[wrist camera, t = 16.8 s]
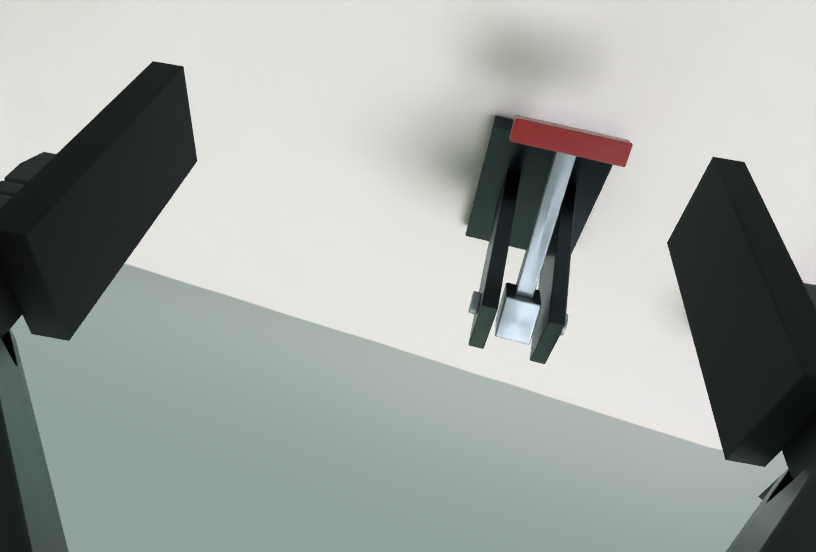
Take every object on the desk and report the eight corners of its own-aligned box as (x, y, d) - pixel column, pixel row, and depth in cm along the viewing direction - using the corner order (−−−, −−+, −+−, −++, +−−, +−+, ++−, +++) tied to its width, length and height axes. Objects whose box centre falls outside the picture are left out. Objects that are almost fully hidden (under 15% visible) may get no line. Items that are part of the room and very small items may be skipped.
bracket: (495, 115, 42) (461, 261, 34) (618, 142, 42) (615, 298, 33) (467, 225, 51) (434, 365, 42) (569, 249, 50) (557, 396, 41)
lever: (515, 113, 35) (515, 118, 33) (627, 138, 35) (635, 145, 33) (463, 312, 40) (460, 328, 38) (560, 336, 40) (563, 353, 38)
